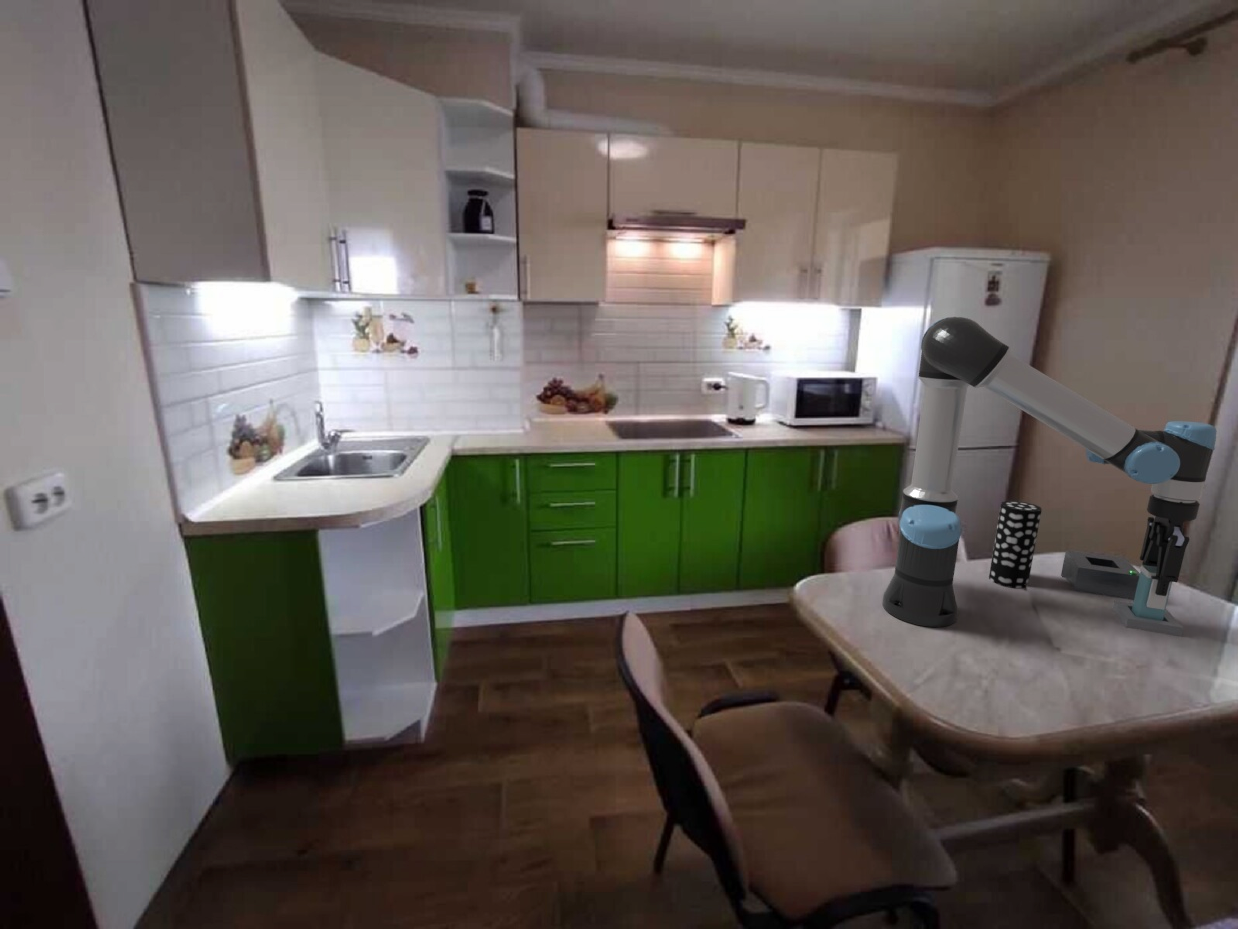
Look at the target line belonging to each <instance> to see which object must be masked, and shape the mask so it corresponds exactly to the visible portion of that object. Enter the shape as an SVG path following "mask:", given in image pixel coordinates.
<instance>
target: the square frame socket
mask: <svg viewBox="0 0 1238 929" xmlns="http://www.w3.org/2000/svg"><path fill="white" fill-rule="evenodd" d="M1132 606H1133V603H1132V602H1125V601H1118V600H1113V604H1112V609H1111V610H1112V611H1114V613H1115V615H1116V616H1117V618H1119V620H1120V621H1121V623H1122V624H1123V625H1124V626H1125V628H1128V629H1129V628H1130V629H1133V630H1134V629H1135V630H1140V631H1146V632H1153V633H1158V634H1162V635H1163V634H1164V635H1170V636H1174V637H1175V636H1176V637H1182V636H1183V635H1182V634H1183V632H1184V626H1182V624H1180V622H1179V620H1177V619H1176V618H1175V617H1174V616H1173V615H1172V613H1170V611H1169V610H1168V609H1167V608H1166V609H1165V613H1164V617H1163V621H1160V620H1154V619H1148V618H1142V617H1136V616H1135V615H1134V614H1133V613H1132Z"/></svg>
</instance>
